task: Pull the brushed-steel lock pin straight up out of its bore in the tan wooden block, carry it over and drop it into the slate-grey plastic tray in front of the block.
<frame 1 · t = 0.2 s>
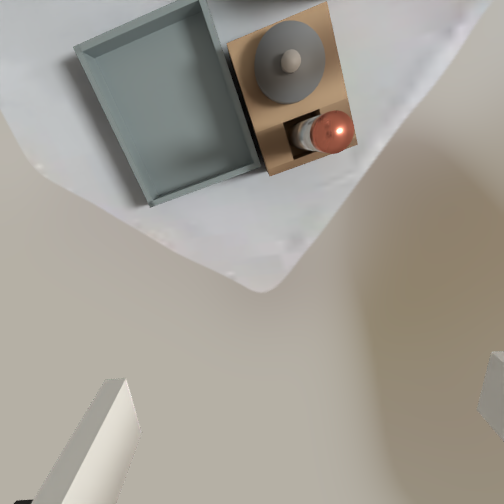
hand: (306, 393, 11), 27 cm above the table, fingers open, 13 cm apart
tray: (179, 113, 32), on the table
tan wooden block: (288, 103, 32), on the table
lock pin: (299, 135, 32), point 1 cm above the table, touching tan wooden block
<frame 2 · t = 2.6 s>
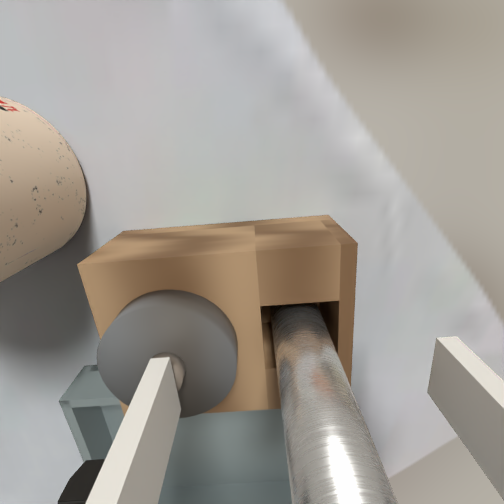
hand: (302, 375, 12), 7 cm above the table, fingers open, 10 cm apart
tray: (209, 425, 23), on the table
tan wooden block: (232, 291, 19), on the table
lock pin: (290, 295, 18), point 1 cm above the table, touching tan wooden block
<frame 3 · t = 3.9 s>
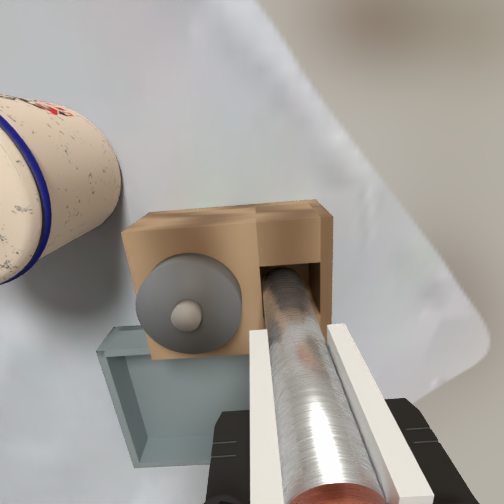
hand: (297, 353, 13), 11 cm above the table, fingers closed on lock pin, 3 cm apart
tray: (217, 381, 27), on the table
teacup with lid: (43, 177, 21), on the table
tan wooden block: (237, 263, 23), on the table
lock pin: (282, 285, 19), point 4 cm above the table, touching gripper
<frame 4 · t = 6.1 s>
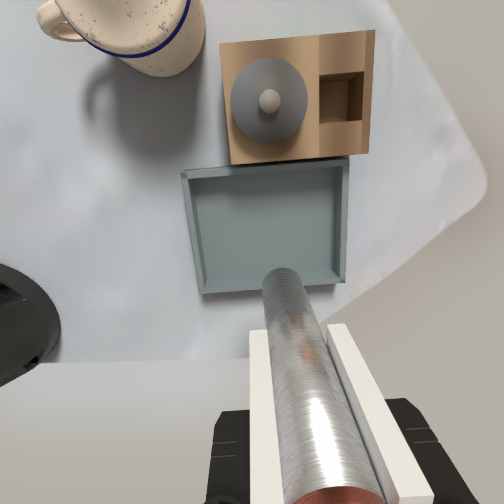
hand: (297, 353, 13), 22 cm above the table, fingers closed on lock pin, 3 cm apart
tray: (266, 224, 33), on the table
teacup with lid: (143, 29, 27), on the table
tan wooden block: (290, 108, 29), on the table
lock pin: (282, 285, 19), point 15 cm above the table, touching gripper
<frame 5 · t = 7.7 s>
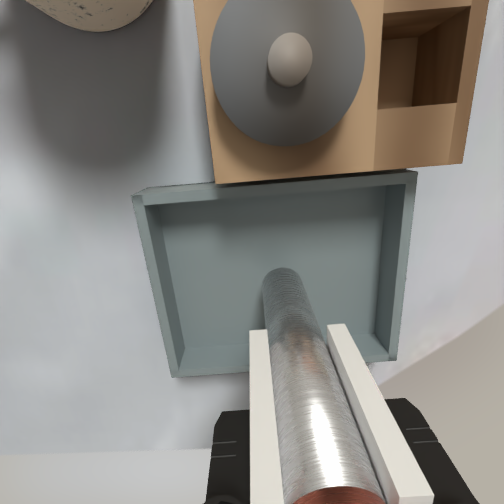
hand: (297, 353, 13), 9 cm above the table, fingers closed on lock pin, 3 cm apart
tray: (275, 268, 22), on the table
tan wooden block: (315, 86, 18), on the table
lock pin: (282, 286, 19), point 3 cm above the table, touching gripper
when the fingers open (7 cm above the table, at t = 8.3 s): lock pin stays where it is, resting on tray.
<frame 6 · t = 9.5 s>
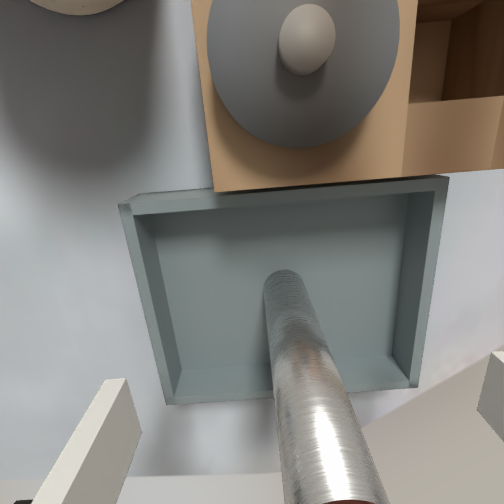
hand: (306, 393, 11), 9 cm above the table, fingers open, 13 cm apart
tray: (281, 283, 19), on the table
tan wooden block: (329, 79, 15), on the table
lock pin: (283, 288, 19), point 1 cm above the table, touching tray
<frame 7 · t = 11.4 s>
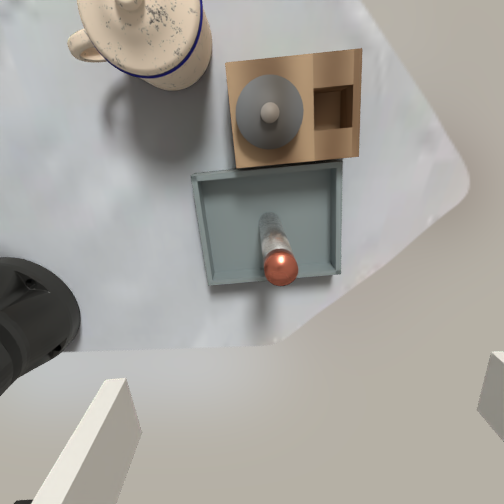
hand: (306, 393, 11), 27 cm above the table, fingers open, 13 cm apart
tray: (268, 221, 36), on the table
teacup with lid: (156, 48, 30), on the table
tan wooden block: (288, 116, 32), on the table
lock pin: (269, 222, 36), point 1 cm above the table, touching tray
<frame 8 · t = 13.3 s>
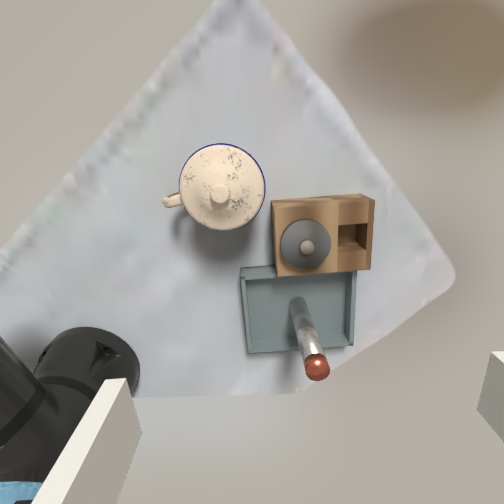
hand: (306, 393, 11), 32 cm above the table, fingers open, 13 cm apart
tray: (296, 302, 46), on the table
teacup with lid: (217, 182, 40), on the table
tan wooden block: (315, 229, 42), on the table
lock pin: (297, 304, 45), point 1 cm above the table, touching tray
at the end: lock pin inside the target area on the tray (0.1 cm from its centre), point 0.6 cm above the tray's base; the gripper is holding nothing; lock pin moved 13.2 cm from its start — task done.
